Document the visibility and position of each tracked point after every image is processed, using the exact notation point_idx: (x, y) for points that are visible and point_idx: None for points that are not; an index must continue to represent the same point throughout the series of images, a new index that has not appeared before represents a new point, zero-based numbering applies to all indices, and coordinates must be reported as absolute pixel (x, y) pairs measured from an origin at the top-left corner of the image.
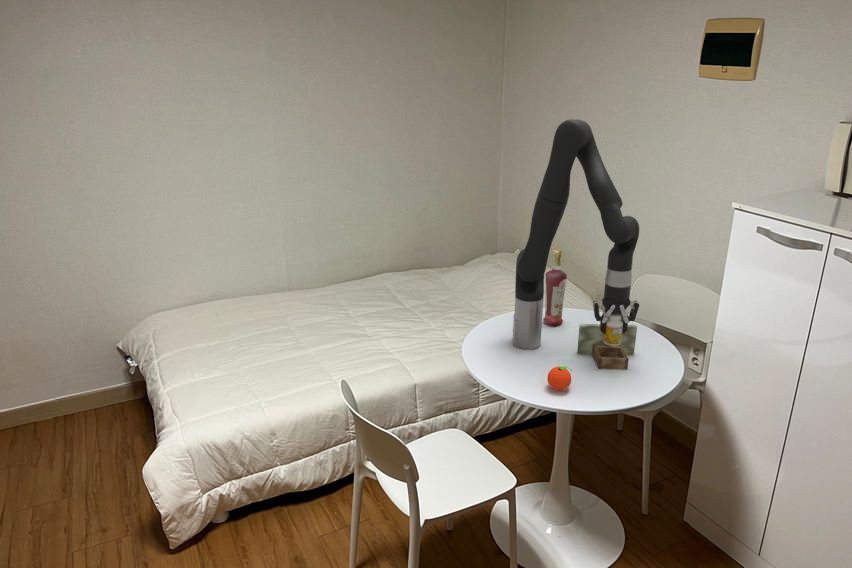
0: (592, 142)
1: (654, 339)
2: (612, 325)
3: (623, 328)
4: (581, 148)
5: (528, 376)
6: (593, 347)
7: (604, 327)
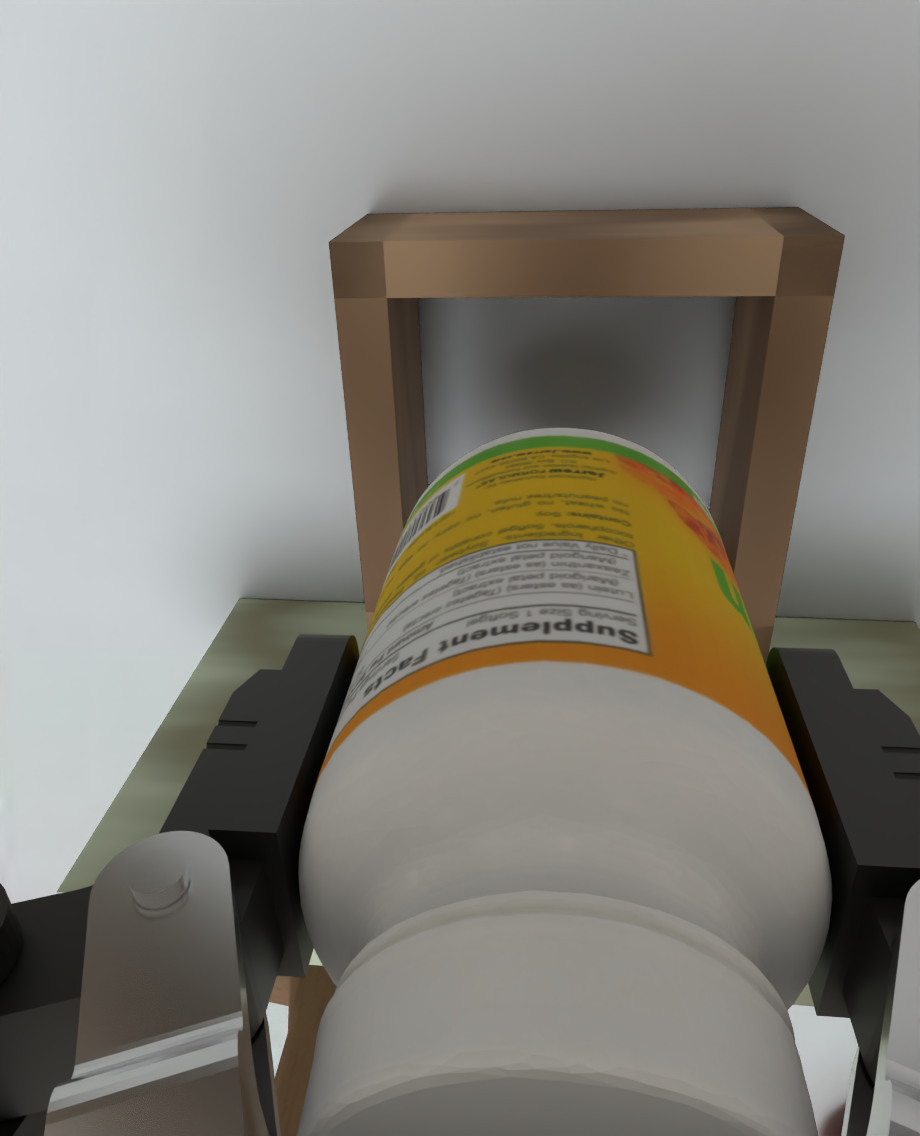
0: None
1: (26, 862)
2: (681, 733)
3: (311, 715)
4: None
5: None
6: (765, 640)
7: (856, 756)
